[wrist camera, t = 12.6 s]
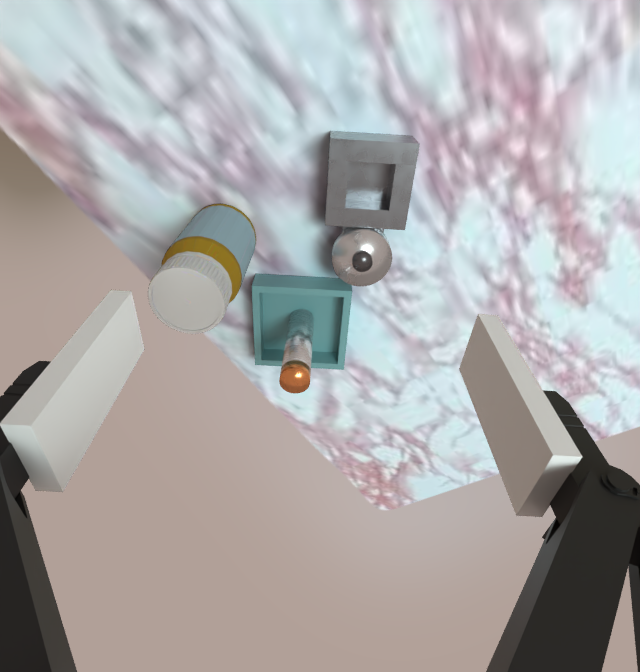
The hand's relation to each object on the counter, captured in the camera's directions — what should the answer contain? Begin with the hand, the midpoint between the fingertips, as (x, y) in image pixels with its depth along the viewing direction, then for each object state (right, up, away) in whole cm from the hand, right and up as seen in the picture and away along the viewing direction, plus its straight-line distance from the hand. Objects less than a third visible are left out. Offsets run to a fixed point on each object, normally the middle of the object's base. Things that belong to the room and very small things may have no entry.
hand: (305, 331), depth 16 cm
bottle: (-10, +11, +30) cm, 33 cm away
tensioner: (+5, +13, +28) cm, 31 cm away
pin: (-2, +2, +35) cm, 35 cm away
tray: (-2, +2, +35) cm, 35 cm away
